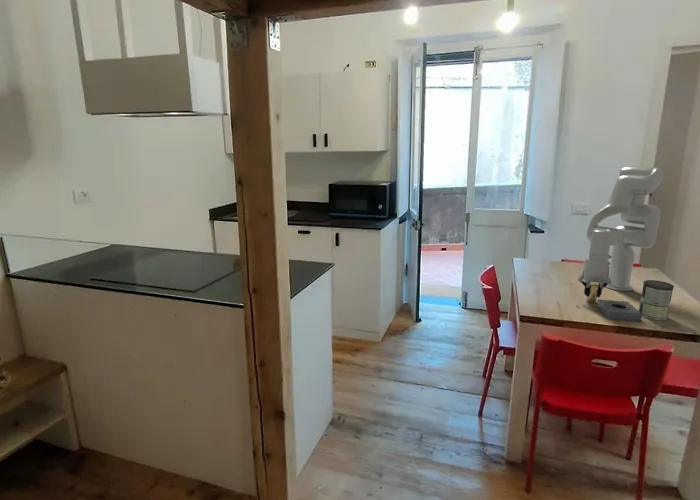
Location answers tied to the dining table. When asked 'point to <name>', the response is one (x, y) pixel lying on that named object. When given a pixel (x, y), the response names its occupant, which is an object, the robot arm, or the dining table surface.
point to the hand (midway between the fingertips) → (592, 295)
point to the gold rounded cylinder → (593, 293)
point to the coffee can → (656, 299)
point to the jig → (619, 310)
